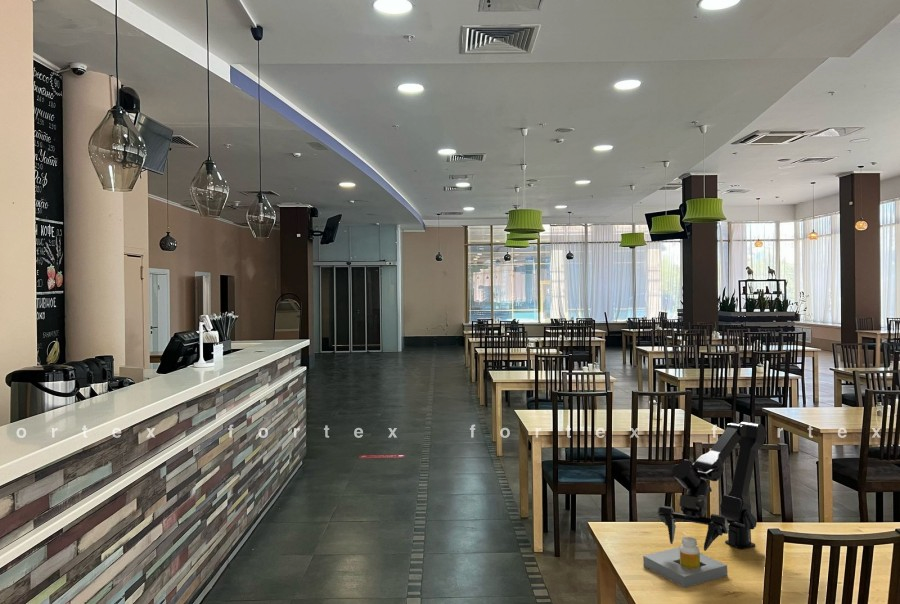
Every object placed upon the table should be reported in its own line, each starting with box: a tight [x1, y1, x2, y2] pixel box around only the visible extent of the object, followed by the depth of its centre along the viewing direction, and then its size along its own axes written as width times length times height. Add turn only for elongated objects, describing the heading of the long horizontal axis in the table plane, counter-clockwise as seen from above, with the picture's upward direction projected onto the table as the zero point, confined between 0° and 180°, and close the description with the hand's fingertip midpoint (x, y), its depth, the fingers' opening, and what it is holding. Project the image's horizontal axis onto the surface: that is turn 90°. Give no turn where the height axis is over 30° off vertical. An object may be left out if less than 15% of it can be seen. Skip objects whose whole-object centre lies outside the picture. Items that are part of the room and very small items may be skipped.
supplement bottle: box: [679, 536, 701, 569], centre depth 175 cm, size 5×5×10 cm
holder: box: [642, 546, 728, 589], centre depth 177 cm, size 16×16×3 cm
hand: (687, 546), depth 174 cm, fingers open, 9 cm apart
